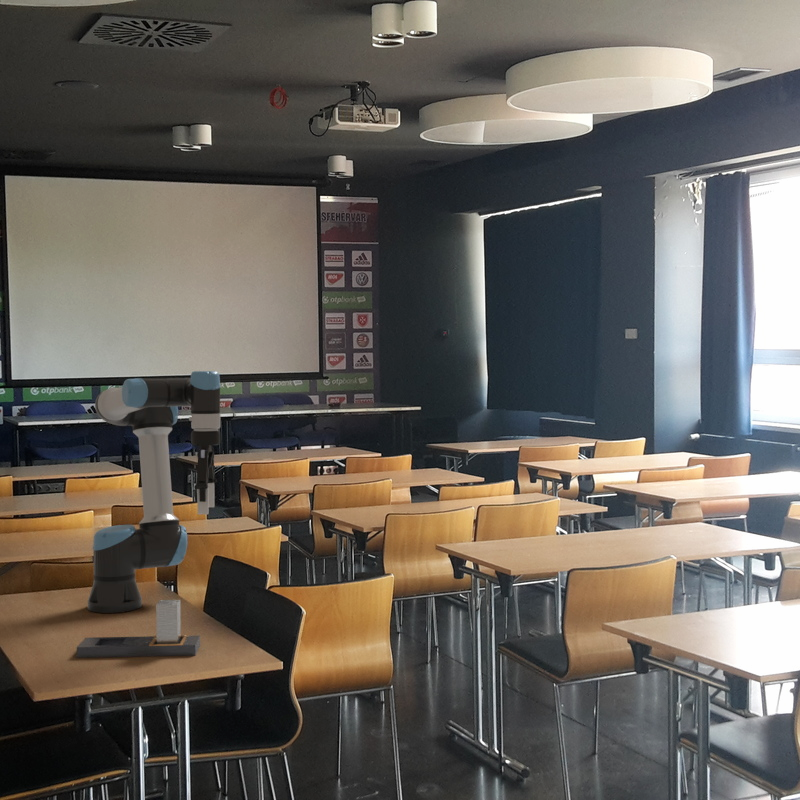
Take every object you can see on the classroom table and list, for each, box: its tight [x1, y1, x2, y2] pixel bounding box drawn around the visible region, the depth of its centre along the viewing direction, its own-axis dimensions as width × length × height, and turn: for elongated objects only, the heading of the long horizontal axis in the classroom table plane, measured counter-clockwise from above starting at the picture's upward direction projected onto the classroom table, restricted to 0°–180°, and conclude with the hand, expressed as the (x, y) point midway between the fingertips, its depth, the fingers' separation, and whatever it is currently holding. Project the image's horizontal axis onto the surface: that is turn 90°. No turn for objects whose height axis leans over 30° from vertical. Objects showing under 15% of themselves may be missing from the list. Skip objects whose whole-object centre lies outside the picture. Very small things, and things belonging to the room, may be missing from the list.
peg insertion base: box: [76, 634, 201, 659], centre depth 252 cm, size 9×28×3 cm, turn 94°
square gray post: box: [155, 599, 182, 644], centre depth 252 cm, size 5×5×12 cm
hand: (206, 510), depth 271 cm, fingers open, 13 cm apart
